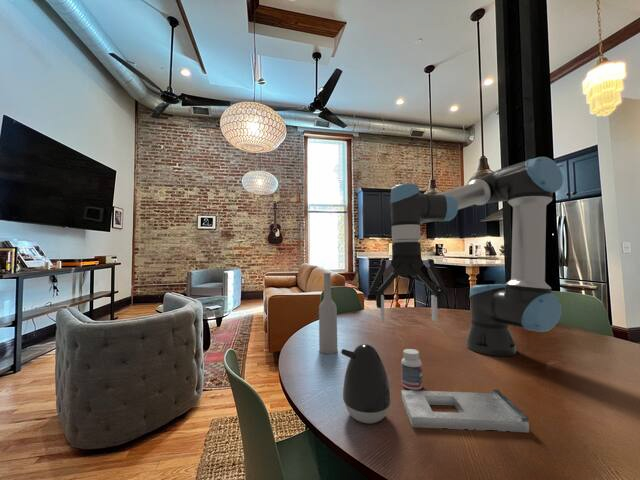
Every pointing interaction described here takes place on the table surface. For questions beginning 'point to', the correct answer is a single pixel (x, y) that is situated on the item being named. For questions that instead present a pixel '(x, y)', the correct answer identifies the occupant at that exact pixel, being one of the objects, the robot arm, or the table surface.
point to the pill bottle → (411, 370)
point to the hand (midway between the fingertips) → (408, 320)
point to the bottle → (327, 320)
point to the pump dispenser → (366, 385)
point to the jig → (464, 411)
